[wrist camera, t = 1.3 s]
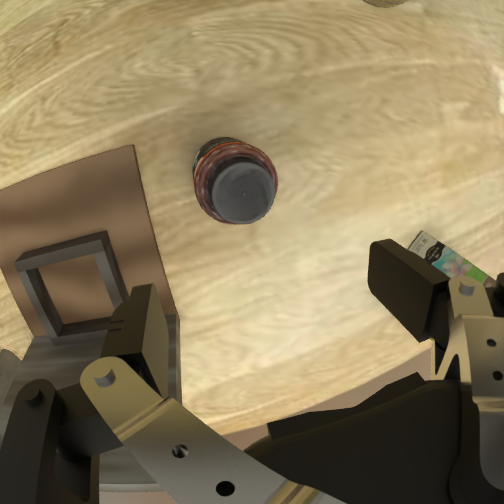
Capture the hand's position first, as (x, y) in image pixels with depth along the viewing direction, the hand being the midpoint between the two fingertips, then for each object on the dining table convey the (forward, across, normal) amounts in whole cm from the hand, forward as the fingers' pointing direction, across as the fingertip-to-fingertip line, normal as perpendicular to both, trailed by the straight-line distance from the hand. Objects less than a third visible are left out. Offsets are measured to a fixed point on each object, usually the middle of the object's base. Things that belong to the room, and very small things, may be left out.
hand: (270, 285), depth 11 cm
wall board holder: (+20, +17, +5) cm, 27 cm away
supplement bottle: (+20, -1, -1) cm, 21 cm away
